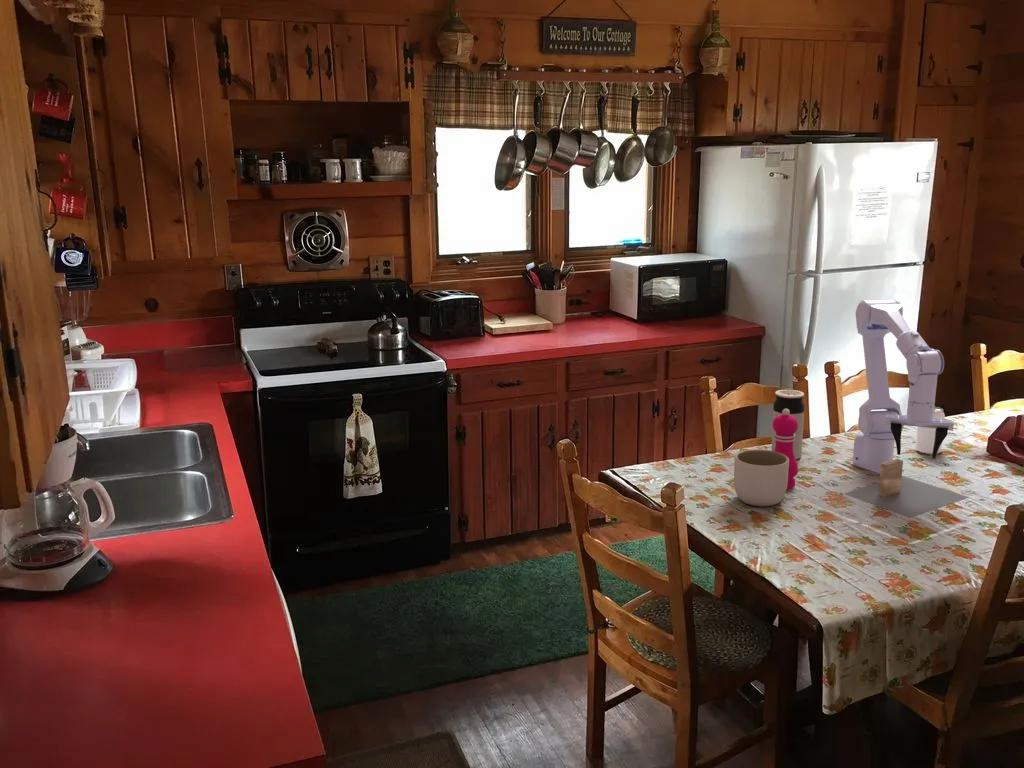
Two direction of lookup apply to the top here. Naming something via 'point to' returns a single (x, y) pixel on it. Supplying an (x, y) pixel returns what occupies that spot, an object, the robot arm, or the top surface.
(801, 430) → the travel mug
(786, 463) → the planter
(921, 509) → the rubber mat
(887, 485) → the brown framed teal panel
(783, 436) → the pepper mill
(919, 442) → the can
